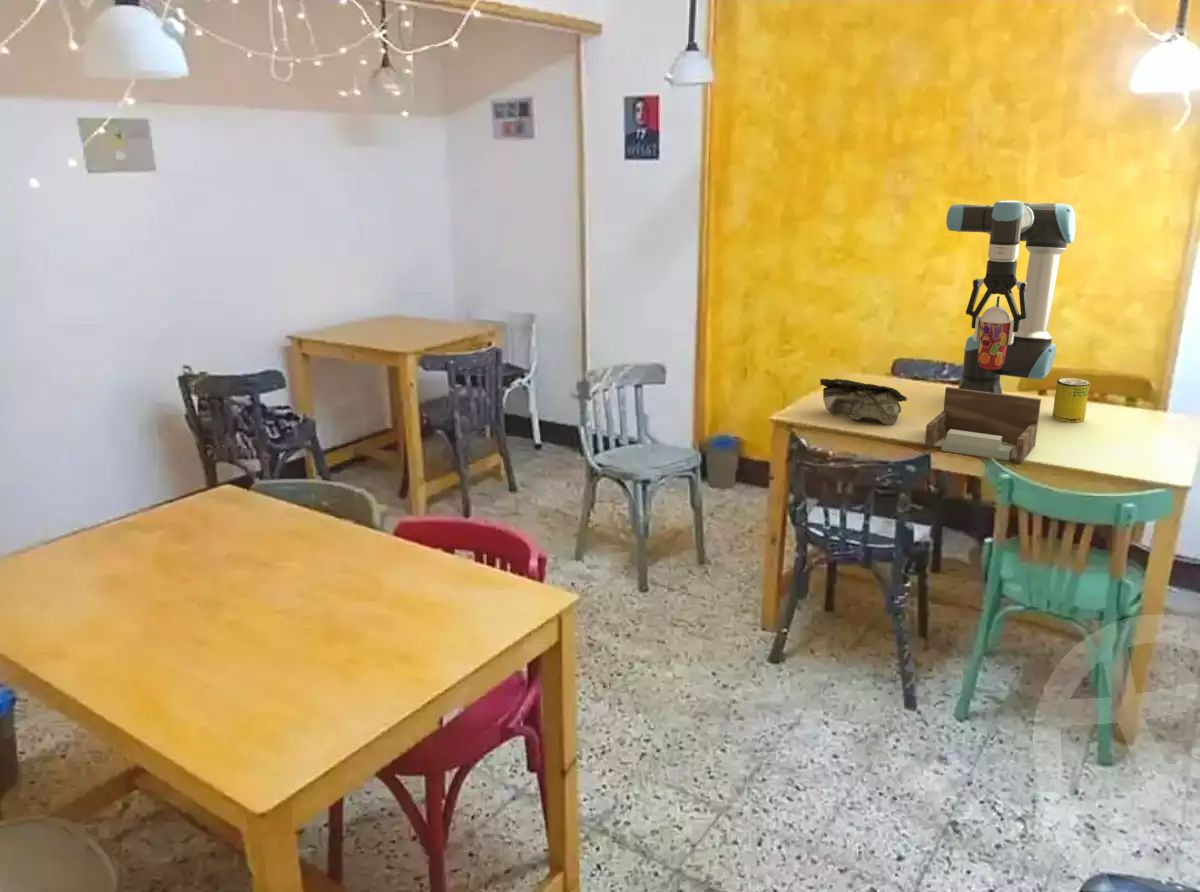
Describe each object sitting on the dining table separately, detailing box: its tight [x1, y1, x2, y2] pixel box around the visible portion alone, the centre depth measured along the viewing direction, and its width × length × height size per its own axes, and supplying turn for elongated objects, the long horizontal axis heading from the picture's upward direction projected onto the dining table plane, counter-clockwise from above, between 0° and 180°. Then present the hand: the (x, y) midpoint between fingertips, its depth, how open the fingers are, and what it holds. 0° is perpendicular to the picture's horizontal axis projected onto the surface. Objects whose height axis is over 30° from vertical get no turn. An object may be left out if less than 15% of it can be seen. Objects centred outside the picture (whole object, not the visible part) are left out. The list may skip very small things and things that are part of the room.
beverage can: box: [1051, 377, 1090, 424], centre depth 290 cm, size 9×9×12 cm
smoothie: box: [978, 295, 1013, 370], centre depth 259 cm, size 8×8×20 cm
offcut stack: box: [941, 429, 1013, 461], centre depth 263 cm, size 4×18×6 cm, turn 57°
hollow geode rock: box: [819, 378, 908, 426], centre depth 296 cm, size 28×13×15 cm
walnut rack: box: [924, 386, 1042, 465], centre depth 266 cm, size 18×26×14 cm
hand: (993, 341), depth 260 cm, fingers closed on smoothie, 8 cm apart
